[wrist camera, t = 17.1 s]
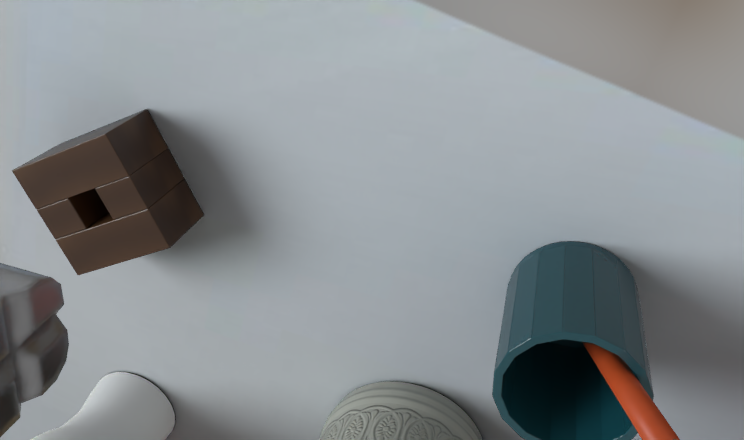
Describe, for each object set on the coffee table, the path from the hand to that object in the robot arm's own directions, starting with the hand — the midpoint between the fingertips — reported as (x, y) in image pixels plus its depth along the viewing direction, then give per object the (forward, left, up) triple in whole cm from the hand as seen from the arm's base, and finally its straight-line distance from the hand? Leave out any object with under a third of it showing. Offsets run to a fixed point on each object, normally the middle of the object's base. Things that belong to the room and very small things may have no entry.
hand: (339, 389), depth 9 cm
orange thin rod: (+20, -3, -34) cm, 39 cm away
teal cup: (+20, -3, -34) cm, 40 cm away
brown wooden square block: (+3, -30, -34) cm, 46 cm away
